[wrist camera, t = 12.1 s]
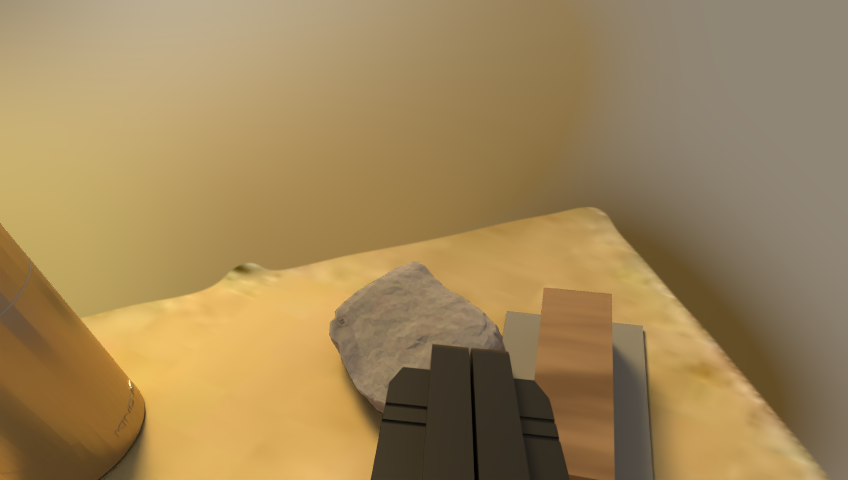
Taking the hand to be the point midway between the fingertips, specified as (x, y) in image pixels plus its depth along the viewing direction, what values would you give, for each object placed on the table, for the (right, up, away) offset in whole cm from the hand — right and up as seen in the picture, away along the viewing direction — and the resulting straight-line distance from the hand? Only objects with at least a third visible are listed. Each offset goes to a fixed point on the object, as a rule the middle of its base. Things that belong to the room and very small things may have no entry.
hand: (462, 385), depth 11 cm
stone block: (-2, -6, +30) cm, 30 cm away
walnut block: (+7, -11, +19) cm, 23 cm away
